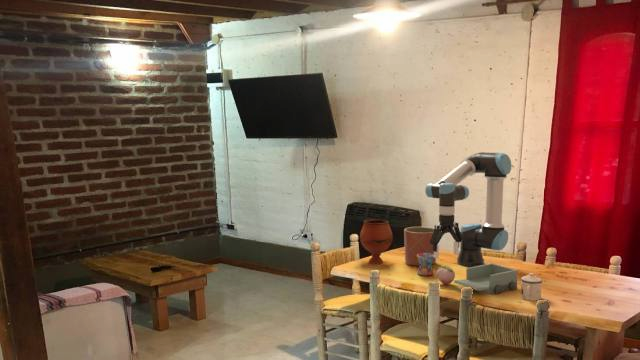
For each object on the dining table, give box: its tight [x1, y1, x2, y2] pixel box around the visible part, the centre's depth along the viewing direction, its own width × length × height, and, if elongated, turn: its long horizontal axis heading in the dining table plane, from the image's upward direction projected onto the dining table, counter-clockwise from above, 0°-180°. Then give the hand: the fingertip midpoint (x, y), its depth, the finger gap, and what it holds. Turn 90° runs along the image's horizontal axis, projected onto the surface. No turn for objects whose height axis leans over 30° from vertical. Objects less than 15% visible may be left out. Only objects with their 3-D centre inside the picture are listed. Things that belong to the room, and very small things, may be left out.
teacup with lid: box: [520, 272, 543, 302], centre depth 240 cm, size 12×9×12 cm
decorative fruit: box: [435, 264, 456, 285], centre depth 263 cm, size 9×8×10 cm
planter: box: [403, 226, 437, 267], centre depth 305 cm, size 19×19×20 cm
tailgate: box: [453, 278, 489, 291], centre depth 251 cm, size 2×15×8 cm
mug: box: [416, 253, 434, 277], centre depth 283 cm, size 12×9×11 cm
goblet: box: [359, 219, 394, 265], centre depth 307 cm, size 19×19×25 cm
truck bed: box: [465, 262, 518, 295], centre depth 258 cm, size 18×19×9 cm
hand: (446, 256), depth 262 cm, fingers open, 13 cm apart
